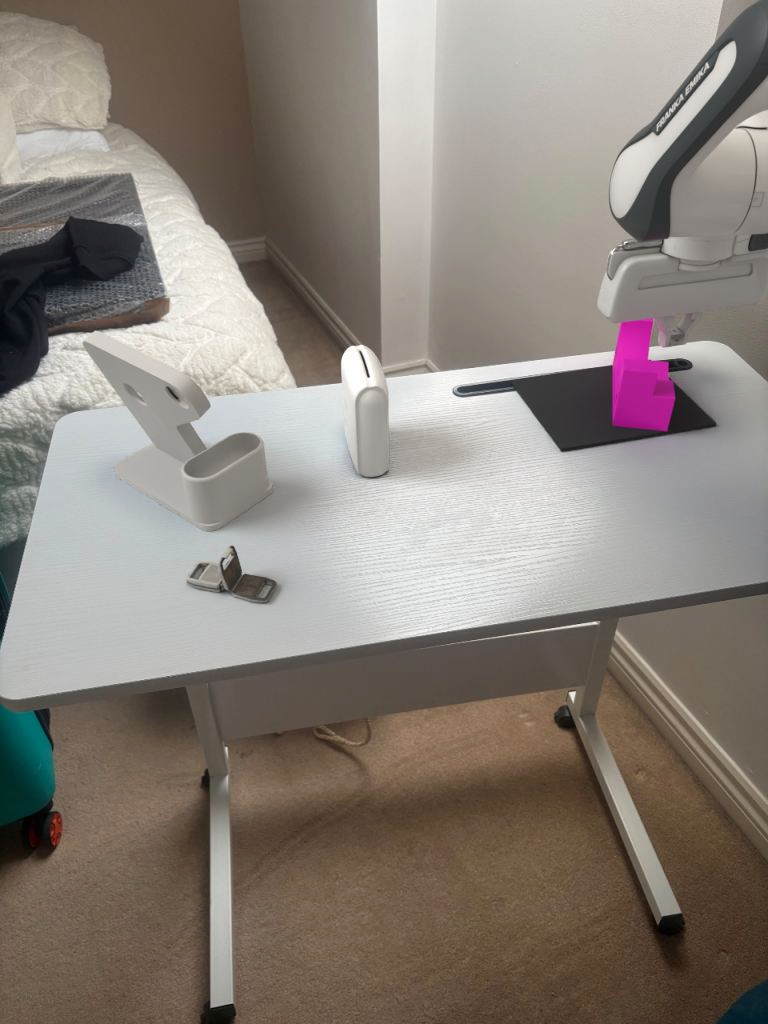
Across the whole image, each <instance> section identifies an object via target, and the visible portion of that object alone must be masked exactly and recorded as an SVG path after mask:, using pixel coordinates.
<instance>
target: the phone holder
mask: <svg viewBox="0 0 768 1024" xmlns="http://www.w3.org/2000/svg"><path fill="white" fill-rule="evenodd" d="M82 346H83V348H84V350H85V351H86V353H87V354H88V355H89V357H90V358H91V360H92V361H93V363H94V364H95V365H96V366H97V368H98V370H99V371H100V372H101V373H102V375H103V376H104V378H105V379H106V380H107V382H108V383H109V384H110V386H111V387H112V388H113V390H114V391H115V393H116V394H117V396H118V397H119V399H120V400H121V401H122V402H123V404H124V405H125V407H126V408H127V410H128V411H129V412H130V414H132V416H133V418H134V419H135V420H136V422H137V423H138V424H139V426H140V428H141V429H142V430H143V432H144V433H145V434H146V435H147V437H148V439H150V441H151V442H152V443H149V444H148V445H146V446H144V447H143V448H140V449H139V450H137V451H135V452H133V453H132V454H130V455H128V456H127V457H125V458H122V459H121V460H119V461H117V462H116V463H115V464H113V467H112V470H113V473H114V476H115V478H117V479H119V480H120V481H122V482H124V483H125V484H127V485H128V486H130V487H132V488H133V489H135V490H137V491H138V492H140V493H141V494H142V495H144V496H146V497H148V498H149V499H151V500H153V501H154V502H156V503H157V504H159V505H161V506H163V507H164V508H166V509H167V510H169V511H170V512H172V513H174V514H175V515H176V516H179V517H180V518H182V519H184V520H185V521H187V522H189V523H190V524H191V525H193V526H195V528H198V529H200V530H201V531H204V532H215V531H218V530H220V529H222V528H223V527H225V526H226V525H227V524H228V523H230V522H232V521H233V520H235V519H236V518H238V517H239V516H241V515H243V514H244V513H245V512H247V511H248V510H250V509H251V508H252V507H254V506H255V505H257V504H259V503H260V502H262V501H263V500H264V499H266V498H267V497H269V496H270V495H272V494H273V492H274V481H273V480H272V479H271V478H269V475H268V466H267V459H266V451H265V444H264V443H265V442H264V440H263V438H262V437H261V436H260V435H258V434H256V433H253V432H248V431H241V432H236V433H233V434H232V433H231V434H230V435H227V437H225V438H222V439H221V440H219V441H217V442H216V443H214V444H213V445H211V446H210V445H208V444H206V443H204V442H203V440H202V439H201V438H200V435H199V434H198V432H197V431H196V430H195V428H194V427H193V425H192V423H191V422H196V421H199V420H200V419H201V418H202V417H203V416H204V415H205V414H206V413H207V411H209V410H210V409H211V402H210V400H209V398H208V397H207V395H206V394H205V392H204V391H203V390H202V388H201V387H200V385H198V383H197V382H196V381H194V380H193V379H192V378H191V377H190V376H189V375H187V374H186V373H185V372H184V371H181V370H179V369H177V368H176V367H173V366H171V365H169V364H167V363H165V362H163V361H161V360H159V359H157V358H155V357H153V356H151V355H149V354H147V353H144V352H143V351H141V350H138V349H136V348H135V347H132V346H131V345H128V344H126V343H124V342H121V341H120V340H117V339H116V338H113V337H112V336H109V335H107V334H105V333H103V332H101V331H99V330H94V331H93V332H92V333H90V335H89V336H88V337H86V338H85V339H84V340H83V341H82Z"/></svg>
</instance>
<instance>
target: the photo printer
mask: <svg viewBox="0 0 768 1024" xmlns="http://www.w3.org/2000/svg"><path fill="white" fill-rule="evenodd" d="M340 373H341V391H342V394H341V395H342V410H343V411H342V412H343V427H344V435H345V439H346V444H347V448H348V451H349V455H350V458H351V462H352V464H353V467H354V470H355V472H356V473H357V475H361V476H362V477H366V478H373V477H374V478H375V477H379V476H382V475H384V474H385V473H386V472H388V471H389V470H390V469H389V468H390V429H389V428H390V421H389V420H390V419H389V418H390V417H389V412H390V411H389V405H390V403H389V402H390V401H389V399H390V398H389V397H390V396H389V388H388V383H387V378H386V374H385V372H384V370H383V367H382V364H381V361H380V359H379V358H378V357H377V355H376V354H375V352H374V351H373V349H371V348H369V347H368V346H366V345H363V344H360V345H359V344H358V345H351V346H349V347H348V348H347V349H345V351H344V352H343V354H342V357H341V361H340Z"/></svg>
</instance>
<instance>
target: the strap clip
mask: <svg viewBox="0 0 768 1024" xmlns="http://www.w3.org/2000/svg"><path fill="white" fill-rule="evenodd" d="M228 558H229V559H228ZM225 560H227V561H226V563H225V564H223V563H224V562H225ZM201 570H203V572H202V573H201V574H200V576H199V577H198V578H195V577H196V576H197V574H198V572H199V571H201ZM185 580H186V581H185V582H186V584H187V585H189V586H190V587H192V588H194V589H197V590H202V591H208V592H213V593H221V591H228V592H230V593H231V594H232V597H235V598H238V599H240V600H241V599H242V600H243V601H244V600H245V601H248V602H252V603H266V602H268V601H269V599H270V597H271V596H272V594H273V593H274V591H275V589H276V587H277V585H278V582H277V581H276V580H275V579H272V578H269V577H267V576H260V575H255V574H249V573H244V574H243V569H242V566H241V562H240V559H239V555H238V552H237V550H236V547H235V546H234V545H228V547H227V548H226V549H225V551H224V552H223V553H222V555H221V556H220V558H219V560H218V561H217V562H213V561H208V560H207V561H206V560H204V561H203V560H202V561H198V562H196V563H195V565H194V566H193V567H192V569H191V570H190V571H189V573H188V574H187V576H186V577H185ZM265 584H266V585H270V588H269V589H268V591H267V593H266V595H265V596H264V597H261V596H260V597H259V596H258V595H259V594H260V592H261V590H262V589H263V587H264V585H265Z"/></svg>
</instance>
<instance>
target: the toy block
mask: <svg viewBox="0 0 768 1024" xmlns="http://www.w3.org/2000/svg"><path fill="white" fill-rule="evenodd" d="M654 322H655V320H654V318H652V319H644V320H637V321H630V322H622V323H619V327H618V333H617V339H616V344H615V350H614V355H613V360H612V365H613V426H621V427H630V428H640V429H649V430H659V431H667V429H668V425H669V421H670V417H671V413H672V409H673V405H674V401H675V393H674V384H673V382H674V380H672V381H670V380H669V378H670V376H669V375H670V374H669V366H670V365H669V361H660V360H652V361H650V360H651V359H649V354H650V346H651V345H650V344H651V338H652V332H653V327H654Z"/></svg>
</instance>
